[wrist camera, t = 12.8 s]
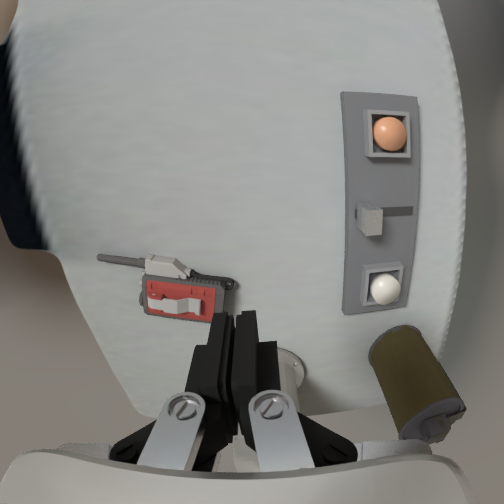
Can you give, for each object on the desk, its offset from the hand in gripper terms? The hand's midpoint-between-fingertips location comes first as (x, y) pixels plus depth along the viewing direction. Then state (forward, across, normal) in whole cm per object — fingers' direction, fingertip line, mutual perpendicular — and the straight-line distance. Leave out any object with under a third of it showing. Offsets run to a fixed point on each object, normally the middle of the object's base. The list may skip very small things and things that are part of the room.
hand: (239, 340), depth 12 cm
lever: (+25, -14, +3) cm, 29 cm away
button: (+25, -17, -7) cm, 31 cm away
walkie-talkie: (+28, +13, +11) cm, 33 cm away
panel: (+27, -17, +3) cm, 32 cm away
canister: (+27, -23, +28) cm, 45 cm away
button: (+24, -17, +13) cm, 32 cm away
